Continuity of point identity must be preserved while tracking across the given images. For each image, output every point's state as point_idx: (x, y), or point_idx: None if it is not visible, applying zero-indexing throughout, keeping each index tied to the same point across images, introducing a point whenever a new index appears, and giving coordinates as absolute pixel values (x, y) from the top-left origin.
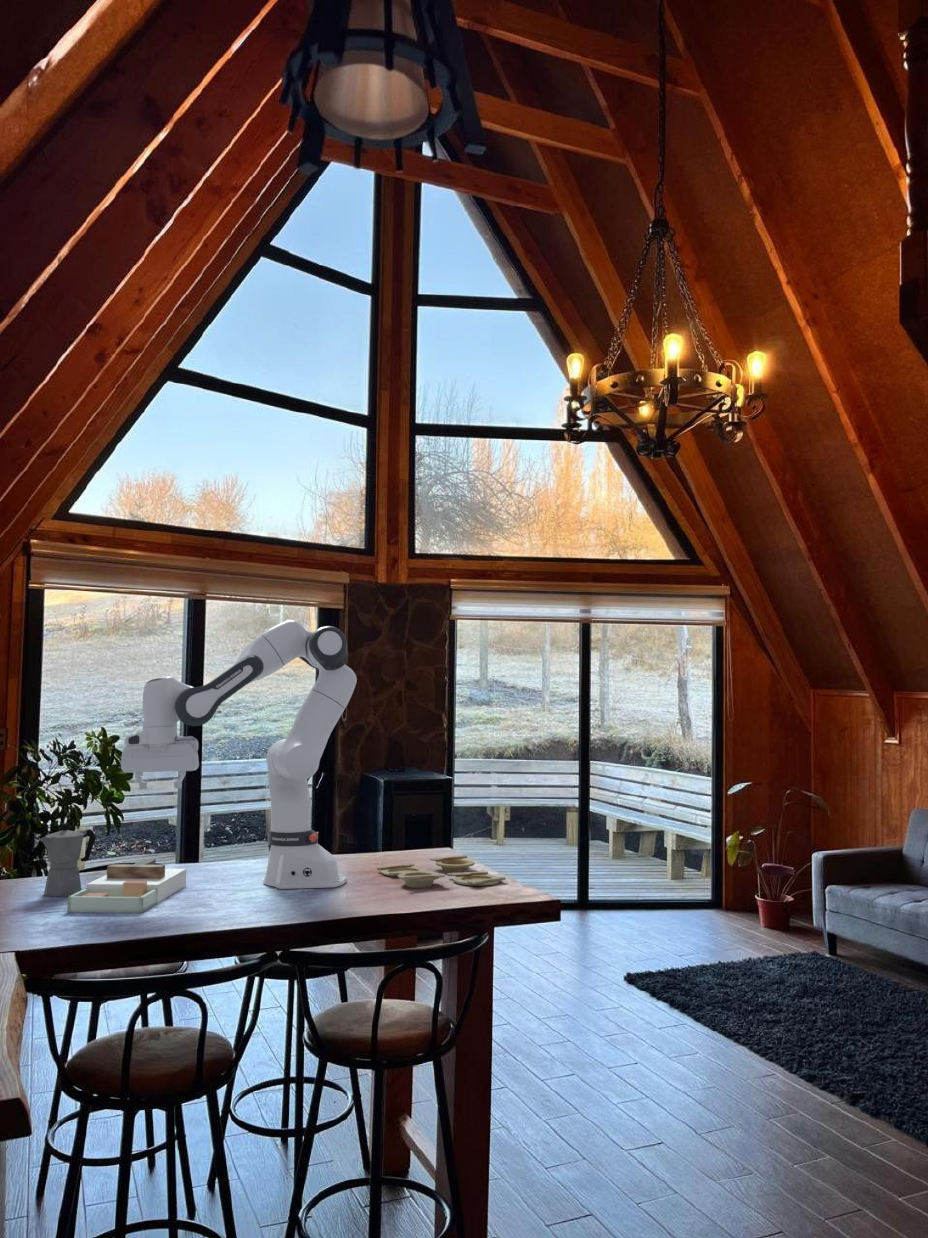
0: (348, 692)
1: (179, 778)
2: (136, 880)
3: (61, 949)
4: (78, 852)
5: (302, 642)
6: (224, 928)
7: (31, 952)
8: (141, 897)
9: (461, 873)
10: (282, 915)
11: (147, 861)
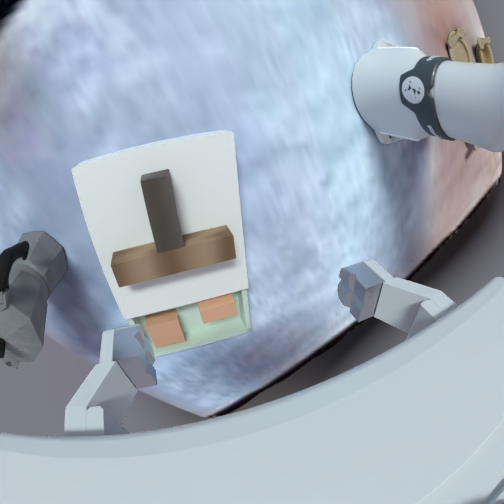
0: None
1: (397, 324)
2: (190, 271)
3: (239, 405)
4: (40, 301)
5: None
6: (345, 324)
7: (222, 414)
8: (249, 330)
9: None
10: (387, 269)
11: (168, 210)
